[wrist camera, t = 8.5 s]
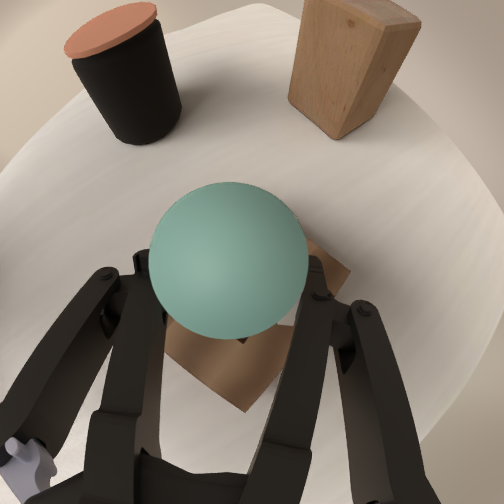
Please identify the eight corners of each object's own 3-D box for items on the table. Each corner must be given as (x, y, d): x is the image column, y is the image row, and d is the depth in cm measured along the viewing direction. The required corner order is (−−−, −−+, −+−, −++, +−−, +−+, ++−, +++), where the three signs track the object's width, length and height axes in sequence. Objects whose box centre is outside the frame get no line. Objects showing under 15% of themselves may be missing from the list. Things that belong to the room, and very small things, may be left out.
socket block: (145, 316, 28) (124, 315, 23) (233, 206, 31) (231, 184, 26) (245, 396, 26) (245, 412, 21) (333, 279, 29) (350, 271, 24)
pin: (201, 301, 21) (120, 269, 7) (236, 256, 22) (216, 157, 8) (246, 336, 20) (241, 372, 7) (281, 290, 21) (338, 241, 7)
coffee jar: (197, 104, 35) (177, 0, 17) (153, 158, 33) (101, 54, 15) (145, 90, 36) (113, 4, 18) (103, 138, 34) (47, 54, 16)
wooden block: (334, 145, 34) (388, 25, 14) (284, 102, 35) (303, -17, 16) (373, 118, 35) (427, 21, 16) (327, 80, 37) (357, -19, 17)
